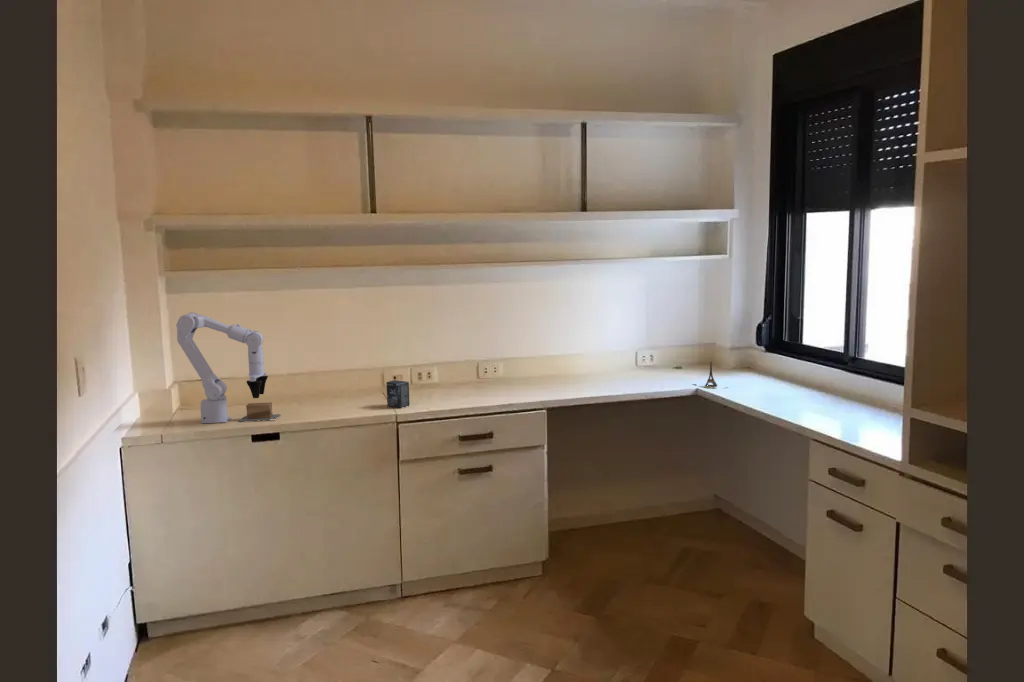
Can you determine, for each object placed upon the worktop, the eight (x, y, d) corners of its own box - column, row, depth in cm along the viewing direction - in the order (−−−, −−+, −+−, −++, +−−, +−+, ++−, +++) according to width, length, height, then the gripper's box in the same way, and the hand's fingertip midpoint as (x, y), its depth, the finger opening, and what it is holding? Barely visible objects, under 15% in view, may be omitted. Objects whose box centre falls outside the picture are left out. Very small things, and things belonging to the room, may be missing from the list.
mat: (239, 422, 299) (239, 420, 299) (245, 416, 308) (245, 415, 308) (275, 420, 300) (275, 419, 300) (280, 415, 309) (280, 414, 309)
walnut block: (270, 418, 302) (269, 404, 302) (247, 419, 302) (246, 405, 301) (272, 415, 306) (271, 402, 306) (249, 416, 305) (248, 403, 305)
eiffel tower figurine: (690, 385, 353) (690, 357, 352) (708, 383, 357) (709, 355, 355) (710, 391, 340) (710, 361, 338) (729, 388, 343) (729, 359, 342)
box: (387, 406, 321) (385, 382, 319) (396, 404, 325) (395, 379, 324) (401, 408, 316) (399, 383, 315) (410, 406, 321) (409, 381, 320)
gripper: (262, 365, 294) (264, 399, 296) (270, 359, 308) (272, 392, 310) (243, 365, 294) (245, 400, 295) (253, 359, 308) (255, 392, 310)
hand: (258, 396), depth 303 cm, fingers open, 7 cm apart
